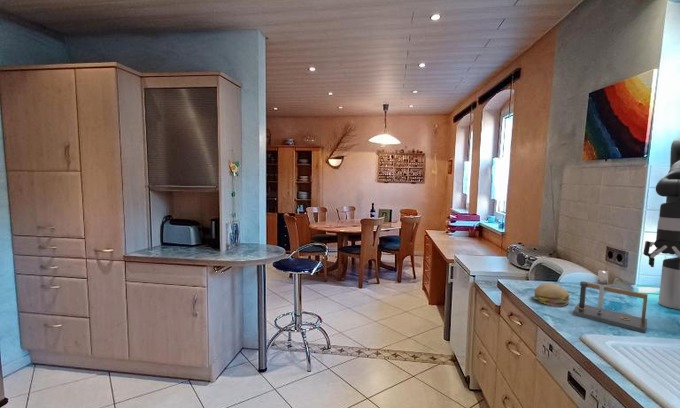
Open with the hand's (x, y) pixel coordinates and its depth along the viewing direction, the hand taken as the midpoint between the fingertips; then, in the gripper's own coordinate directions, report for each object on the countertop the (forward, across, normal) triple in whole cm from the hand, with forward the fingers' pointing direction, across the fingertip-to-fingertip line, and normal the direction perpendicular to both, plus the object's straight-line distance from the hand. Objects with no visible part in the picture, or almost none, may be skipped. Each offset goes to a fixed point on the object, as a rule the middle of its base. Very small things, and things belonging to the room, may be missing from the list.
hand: (666, 268), depth 136 cm
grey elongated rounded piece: (+19, +21, +15) cm, 32 cm away
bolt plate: (+20, +18, +16) cm, 32 cm away
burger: (+21, +38, +8) cm, 44 cm away
